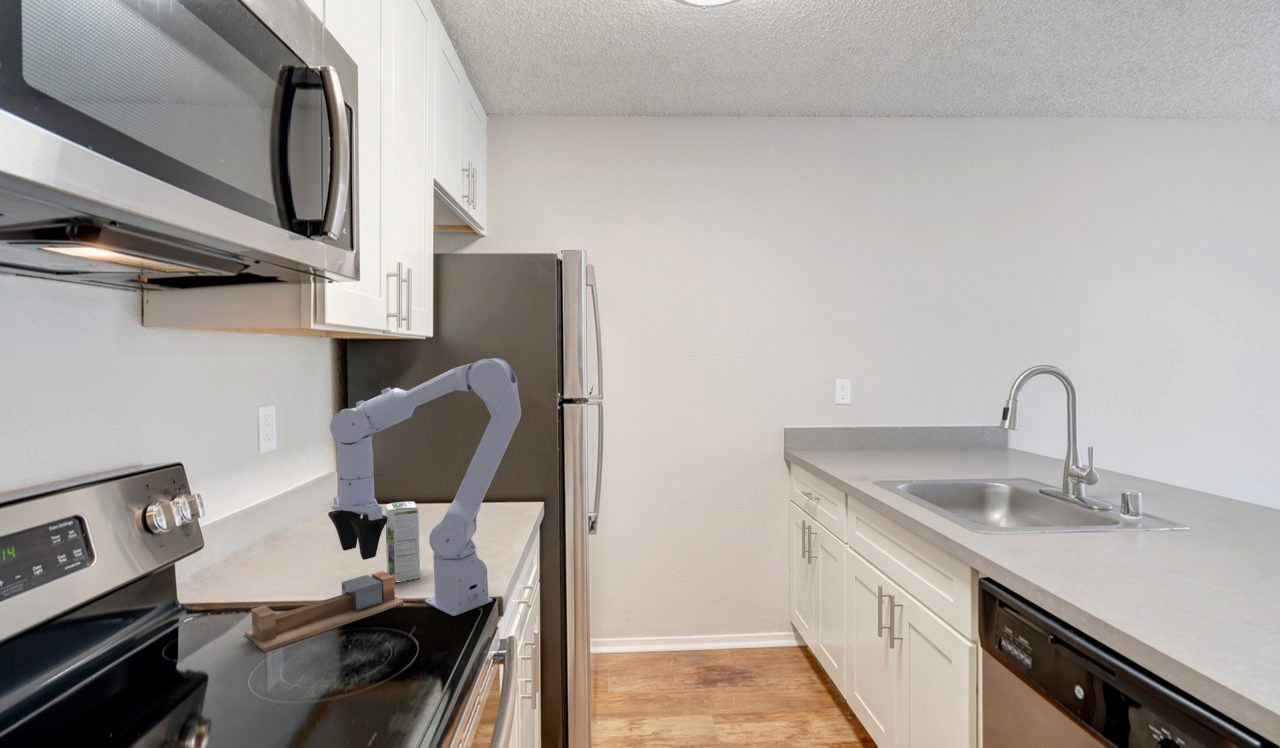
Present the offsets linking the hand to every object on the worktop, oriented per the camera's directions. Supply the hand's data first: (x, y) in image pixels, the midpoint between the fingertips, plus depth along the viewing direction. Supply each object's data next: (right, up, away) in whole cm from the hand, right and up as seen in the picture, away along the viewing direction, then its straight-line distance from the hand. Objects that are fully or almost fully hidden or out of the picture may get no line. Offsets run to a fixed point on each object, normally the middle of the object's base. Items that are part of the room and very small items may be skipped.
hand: (358, 553), depth 108 cm
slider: (+1, -10, 0) cm, 10 cm away
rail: (-3, -10, -4) cm, 11 cm away
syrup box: (+2, -9, +14) cm, 17 cm away
